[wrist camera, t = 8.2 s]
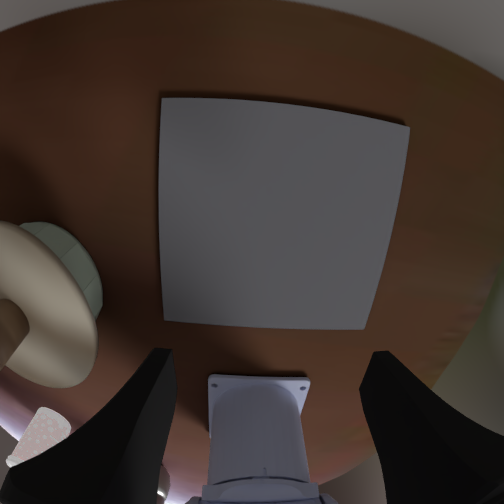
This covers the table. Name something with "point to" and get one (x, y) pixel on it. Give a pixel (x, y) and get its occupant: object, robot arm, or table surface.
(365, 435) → the table surface
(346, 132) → the mat
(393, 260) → the table surface
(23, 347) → the board
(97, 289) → the bowl
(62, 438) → the beverage cup
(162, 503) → the plastic bottle
